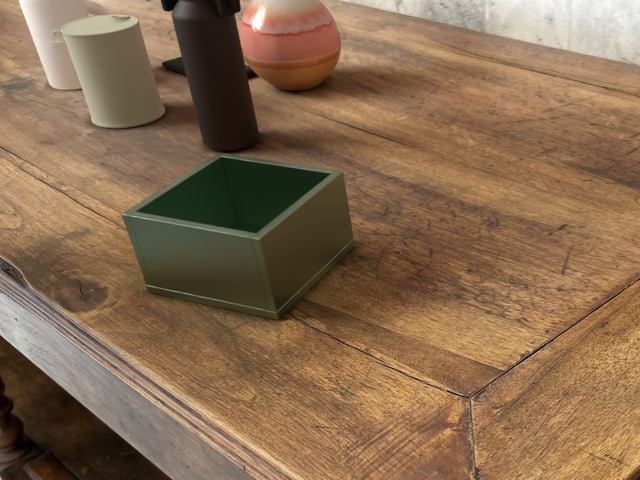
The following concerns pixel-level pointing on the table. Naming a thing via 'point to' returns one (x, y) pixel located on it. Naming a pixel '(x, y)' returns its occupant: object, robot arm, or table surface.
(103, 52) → the can
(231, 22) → the vinegar
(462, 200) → the table surface
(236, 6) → the robot arm
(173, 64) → the smartphone
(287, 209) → the green open box
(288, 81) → the vase
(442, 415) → the table surface
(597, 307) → the table surface
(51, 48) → the mug
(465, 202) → the table surface
